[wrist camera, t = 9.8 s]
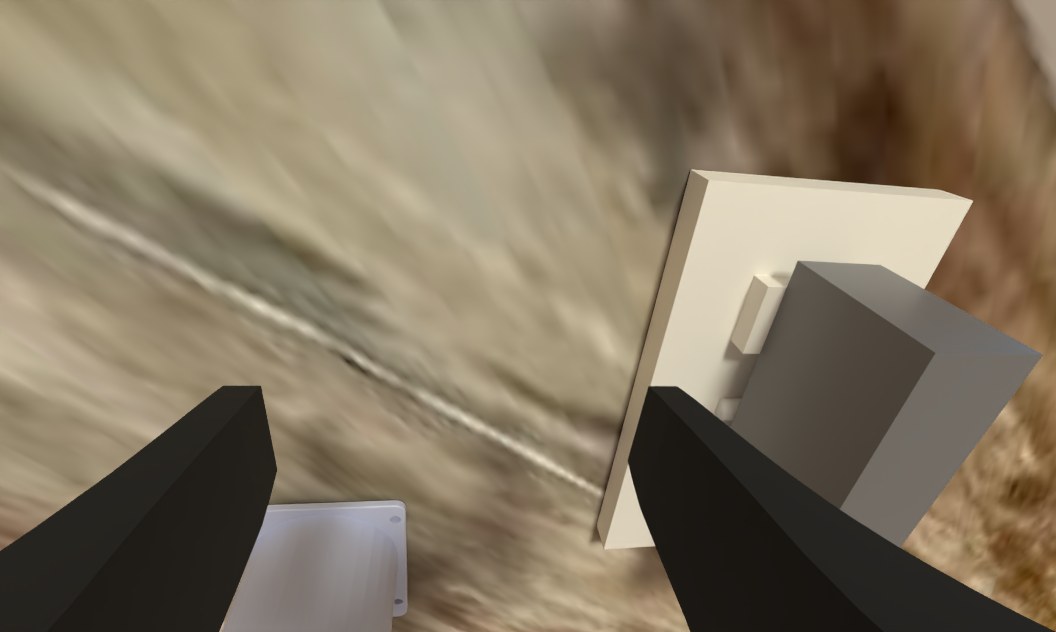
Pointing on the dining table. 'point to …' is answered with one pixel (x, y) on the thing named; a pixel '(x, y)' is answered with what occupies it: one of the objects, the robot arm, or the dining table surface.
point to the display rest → (758, 287)
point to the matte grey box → (875, 391)
